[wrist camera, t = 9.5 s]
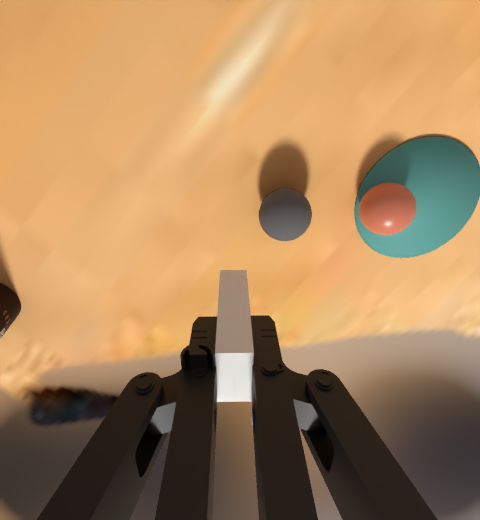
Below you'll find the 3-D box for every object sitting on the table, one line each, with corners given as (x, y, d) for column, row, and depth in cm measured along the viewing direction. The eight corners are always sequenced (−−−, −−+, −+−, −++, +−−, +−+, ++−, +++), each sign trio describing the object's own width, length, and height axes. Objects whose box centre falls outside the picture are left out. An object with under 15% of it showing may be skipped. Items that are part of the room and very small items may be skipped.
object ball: (392, 191, 28) (436, 186, 30) (352, 179, 33) (392, 176, 34) (380, 246, 30) (421, 239, 32) (344, 228, 35) (382, 222, 37)
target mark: (367, 135, 32) (368, 136, 31) (500, 136, 32) (501, 137, 32) (345, 257, 38) (346, 258, 38) (456, 257, 38) (457, 257, 38)
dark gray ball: (317, 202, 28) (316, 186, 33) (258, 193, 29) (266, 178, 34) (305, 254, 31) (306, 232, 36) (252, 244, 32) (260, 224, 36)
